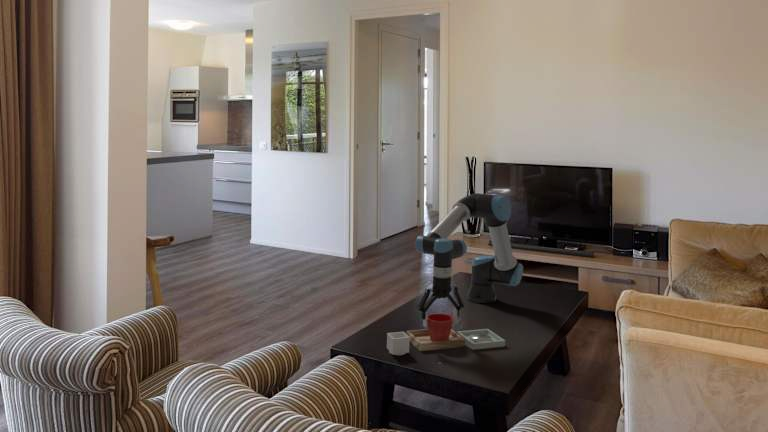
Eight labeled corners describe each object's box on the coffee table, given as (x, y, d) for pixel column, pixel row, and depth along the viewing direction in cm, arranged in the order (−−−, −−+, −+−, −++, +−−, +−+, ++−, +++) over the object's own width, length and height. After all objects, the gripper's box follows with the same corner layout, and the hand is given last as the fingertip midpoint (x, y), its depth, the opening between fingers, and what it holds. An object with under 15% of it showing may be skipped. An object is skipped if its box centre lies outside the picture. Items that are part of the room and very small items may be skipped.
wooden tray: (406, 337, 254) (406, 330, 253) (448, 333, 260) (448, 327, 260) (420, 351, 239) (420, 344, 238) (464, 346, 245) (465, 339, 245)
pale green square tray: (456, 337, 256) (456, 331, 255) (487, 334, 261) (487, 328, 260) (472, 349, 242) (472, 343, 241) (504, 346, 247) (505, 340, 246)
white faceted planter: (386, 349, 239) (387, 333, 238) (402, 348, 242) (403, 331, 241) (392, 356, 233) (392, 339, 232) (409, 354, 235) (409, 337, 234)
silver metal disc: (466, 336, 254) (466, 334, 254) (484, 334, 257) (485, 332, 256) (475, 343, 245) (476, 341, 245) (495, 341, 248) (495, 339, 248)
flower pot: (424, 335, 255) (425, 313, 253) (449, 334, 256) (450, 313, 254) (428, 344, 244) (429, 321, 243) (454, 343, 245) (455, 321, 244)
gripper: (417, 280, 238) (415, 330, 241) (473, 276, 246) (470, 325, 249) (410, 275, 245) (409, 324, 248) (465, 272, 253) (462, 319, 256)
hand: (440, 325), depth 249 cm, fingers open, 13 cm apart
